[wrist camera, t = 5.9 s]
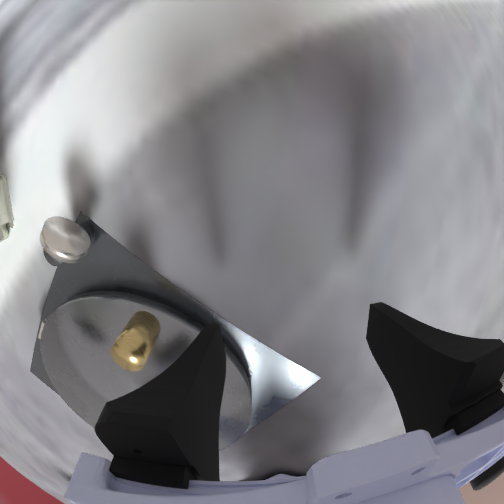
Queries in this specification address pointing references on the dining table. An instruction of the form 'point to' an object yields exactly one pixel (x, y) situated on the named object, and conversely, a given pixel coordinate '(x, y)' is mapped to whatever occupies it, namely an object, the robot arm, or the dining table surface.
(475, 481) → the medicine bottle
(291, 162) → the dining table surface
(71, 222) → the silver oval knob
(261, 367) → the base plate
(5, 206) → the pneumatic valve
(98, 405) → the turntable
